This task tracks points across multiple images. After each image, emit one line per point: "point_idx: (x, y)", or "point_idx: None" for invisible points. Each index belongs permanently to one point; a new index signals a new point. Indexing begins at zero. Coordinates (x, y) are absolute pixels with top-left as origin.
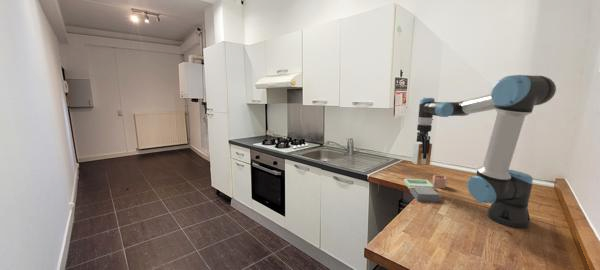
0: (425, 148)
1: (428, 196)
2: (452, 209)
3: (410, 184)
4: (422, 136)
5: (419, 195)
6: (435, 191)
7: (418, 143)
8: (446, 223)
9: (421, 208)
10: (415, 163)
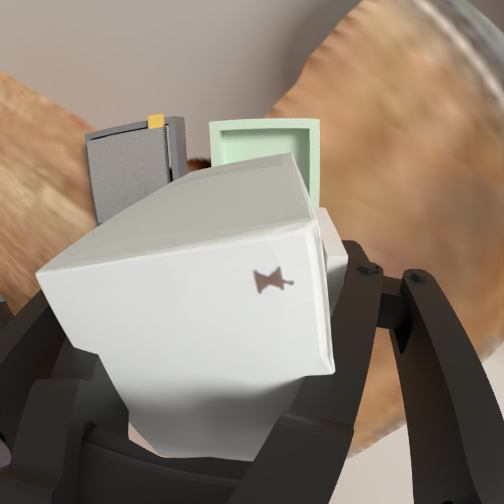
0: (36, 304)
1: (90, 178)
2: (73, 236)
3: (224, 129)
4: (18, 495)
5: (86, 142)
6: None
7: (63, 275)
8: (12, 188)
9: (54, 139)
10: (215, 166)
